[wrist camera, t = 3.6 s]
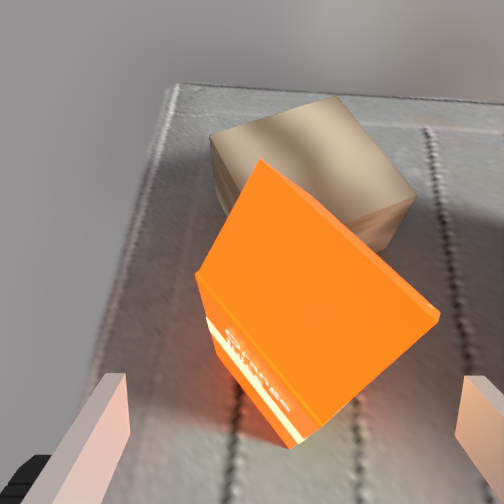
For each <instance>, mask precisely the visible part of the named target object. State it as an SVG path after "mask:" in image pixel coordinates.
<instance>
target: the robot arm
mask: <svg viewBox="0 0 504 504" xmlns="http://www.w3.org/2000/svg"><path fill="white" fill-rule="evenodd" d="M129 436H130V423H129V411H128V400H127V388H126V376H125V373H105V375H104V376H103V378H102V379H101V381H100V382H99V384H98V385H97V387H96V388H95V390H94V392H93V393H92V395H91V396H90V398H89V399H88V401H87V402H86V404H85V405H84V407H83V408H82V410H81V412H80V413H79V415H78V416H77V418H76V419H75V421H74V422H73V424H72V425H71V427H70V428H69V430H68V432H67V433H66V435H65V436H64V438H63V439H62V441H61V442H60V444H59V445H58V447H57V449H56V450H55V452H54V453H53V455H34V456H33V457H32V458H31V459H29V460H28V461H27V462H26V463H24V464H23V465H22V466H21V467H19V469H18V470H17V471H16V473H15V474H14V476H13V477H12V478H11V480H10V481H9V482H8V485H7V486H6V487H5V488H4V489H3V491H2V492H1V493H0V504H101V502H102V499H103V497H104V495H105V492H106V490H107V488H108V485H109V483H110V480H111V478H112V476H113V473H114V471H115V469H116V466H117V464H118V462H119V459H120V457H121V455H122V452H123V450H124V448H125V445H126V443H127V441H128V438H129ZM455 437H456V439H457V440H458V441H459V443H460V444H461V446H462V447H463V449H464V450H465V451H466V453H467V454H468V456H469V457H470V459H471V460H472V461H473V463H474V464H475V466H476V467H477V469H478V470H479V471H480V473H481V474H482V476H483V477H484V479H485V480H486V481H487V483H488V484H489V486H490V487H491V488H492V490H493V491H494V493H495V494H496V496H497V497H498V498H499V500H500V501H501V503H502V504H504V395H503V394H502V393H501V392H500V391H499V390H498V389H497V388H496V387H495V386H494V385H493V384H492V383H491V382H490V381H489V380H488V379H487V378H486V377H485V376H464V383H463V389H462V395H461V401H460V407H459V413H458V419H457V425H456V431H455Z"/></svg>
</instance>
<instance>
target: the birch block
mask: <svg viewBox="0 0 504 504" xmlns="http://www.w3.org/2000/svg"><path fill="white" fill-rule="evenodd" d="M209 139H210V147H211V155H212V164H213V172H214V180H215V188H216V196H217V198H218V200H219V202H220V204H221V206H222V208H223V210H224V212H225V214H226V216H227V218H228V216H229V215H230V213H231V211H232V209H233V207H234V205H235V204H236V202H237V200H238V198H239V196H240V194H241V192H242V191H243V189H244V187H245V185H246V183H247V181H248V180H249V178H250V176H251V174H252V172H253V170H254V169H255V167H256V165H257V163H258V161H259V158H260V159H262V160H263V161H264V162H265V163H267V164H268V165H270V166H271V167H272V168H274V169H275V170H276V171H278V172H279V173H281V174H282V175H283V176H285V177H286V178H287V179H289V180H290V181H292V182H293V183H294V184H296V185H297V186H299V187H300V188H301V189H303V190H304V191H305V192H307V193H308V194H310V195H311V196H312V197H313V198H314V199H316V200H317V201H318V202H319V203H320V204H321V205H322V206H323V207H324V208H325V209H327V210H328V211H329V212H330V213H331V214H332V215H333V216H334V217H335V218H336V219H338V220H339V221H340V222H341V223H342V224H343V225H344V226H345V227H346V228H348V229H349V230H350V231H351V232H352V233H353V234H354V235H355V236H356V237H357V238H359V239H360V240H361V241H362V242H363V243H364V244H365V245H366V246H367V247H368V248H370V249H371V250H372V251H373V252H374V253H377V252H379V251H381V250H384V249H386V247H387V246H388V244H389V242H390V241H391V239H392V237H393V236H394V234H395V232H396V231H397V229H398V227H399V226H400V224H401V222H402V221H403V219H404V217H405V216H406V214H407V212H408V210H409V209H410V207H411V205H412V204H413V202H414V200H415V199H416V197H417V195H418V194H417V193H416V192H415V191H414V190H413V188H412V187H411V186H410V185H409V183H408V182H407V181H406V180H405V178H404V177H403V176H402V175H401V174H400V172H399V171H398V170H397V169H396V167H395V166H394V165H393V164H392V163H391V161H390V160H389V159H388V158H387V156H386V155H385V154H384V153H383V151H382V150H381V149H380V148H379V147H378V145H377V144H376V143H375V142H374V140H373V139H372V138H371V137H370V136H369V134H368V133H367V132H366V131H365V129H364V128H363V127H362V126H361V124H360V123H359V122H358V121H357V120H356V118H355V117H354V116H353V115H352V113H351V112H350V111H349V110H348V109H347V107H346V106H345V105H344V104H343V102H342V101H341V100H340V99H339V98H338V96H337V95H336V96H333V97H329V98H326V99H323V100H320V101H317V102H313V103H310V104H307V105H304V106H301V107H297V108H294V109H291V110H288V111H284V112H281V113H278V114H275V115H272V116H268V117H265V118H262V119H259V120H256V121H252V122H249V123H246V124H243V125H240V126H236V127H233V128H230V129H227V130H223V131H220V132H217V133H214V134H211V135H209ZM258 157H259V158H258Z"/></svg>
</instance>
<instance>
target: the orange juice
mask: <svg viewBox="0 0 504 504" xmlns="http://www.w3.org/2000/svg"><path fill="white" fill-rule="evenodd" d="M258 158H259V157H258ZM195 276H196V277H195V279H196V280H197V283H198V287H199V290H200V294H201V298H202V301H203V305H204V309H205V312H206V316H207V317H206V319H207V323H208V327H209V330H210V332H211V335H212V338H213V342H214V346H215V349H216V353H217V355H218V357H219V358H220V359H221V361H222V362H223V363H224V365H225V366H226V367H227V369H228V370H229V371H230V372H231V374H232V375H233V376H234V378H235V379H236V380H237V382H238V383H239V384H240V385H241V387H242V388H243V389H244V391H245V392H246V393H247V395H248V396H249V397H250V398H251V400H252V401H253V402H254V404H255V405H256V406H257V408H258V409H259V410H260V411H261V413H262V414H263V415H264V417H265V418H266V419H267V421H268V422H269V423H270V424H271V426H272V427H273V428H274V430H275V431H276V432H277V434H278V435H279V436H280V438H281V439H282V440H283V441H284V443H285V444H286V445H287V447H288V448H289V449H290V448H292V447H293V446H295V445H296V444H299V443H301V442H302V441H304V440H305V439H306V438H307V437H308V436H309V435H311V434H312V433H314V432H315V431H317V430H318V429H320V428H321V427H322V426H323V425H324V424H325V423H326V422H327V421H328V420H330V419H331V418H332V417H333V416H334V415H335V414H336V413H337V412H338V411H339V410H340V409H342V408H343V407H344V405H345V404H346V403H348V402H349V401H350V400H351V399H352V398H353V397H354V396H355V395H357V394H358V393H359V392H360V391H361V390H362V389H363V388H364V387H366V386H367V385H368V384H369V383H370V382H371V381H372V380H373V379H375V378H376V377H377V376H378V375H379V374H380V373H381V372H382V371H384V370H385V369H386V368H387V367H388V366H389V365H390V364H391V363H393V362H394V361H395V360H396V359H397V358H398V357H399V356H400V355H402V354H403V353H404V352H405V351H406V350H407V349H408V348H409V347H411V346H412V345H413V344H414V343H415V342H416V341H417V340H418V339H420V338H421V337H422V336H423V335H424V334H425V333H426V332H427V331H428V330H430V329H431V328H432V327H433V326H434V325H435V324H436V323H437V322H438V320H439V316H440V312H439V311H438V310H437V309H436V308H435V307H434V306H432V305H431V304H430V303H429V302H428V301H427V300H426V299H425V298H424V297H423V296H421V295H420V294H419V293H418V292H417V291H416V290H415V289H414V288H413V287H412V286H410V285H409V284H408V283H407V282H406V281H405V280H404V279H403V278H402V277H400V276H399V275H398V274H397V273H396V272H395V271H394V270H393V269H392V268H391V267H389V266H388V265H387V264H386V263H385V262H384V261H383V260H382V259H381V258H380V257H378V256H377V255H376V254H375V253H374V252H373V251H372V250H371V249H370V248H368V247H367V246H366V245H365V244H364V243H363V242H362V241H361V240H360V239H359V238H357V237H356V236H355V235H354V234H353V233H352V232H351V231H350V230H349V229H348V228H346V227H345V226H344V225H343V224H342V223H341V222H340V221H339V220H338V219H336V218H335V217H334V216H333V215H332V214H331V213H330V212H329V211H328V210H327V209H325V208H324V207H323V206H322V205H321V204H320V203H319V202H318V201H317V200H316V199H314V198H313V197H312V196H311V195H310V194H308V193H307V192H305V191H304V190H303V189H301V188H300V187H299V186H297V185H296V184H294V183H293V182H292V181H290V180H289V179H287V178H286V177H285V176H283V175H282V174H281V173H279V172H278V171H276V170H275V169H274V168H272V167H271V166H270V165H268V164H267V163H265V162H264V161H263V160H262V159H260V158H259V161H258V163H257V165H256V167H255V169H254V170H253V172H252V174H251V176H250V178H249V180H248V181H247V183H246V185H245V187H244V189H243V191H242V192H241V194H240V196H239V198H238V200H237V202H236V204H235V205H234V207H233V209H232V211H231V213H230V215H229V216H228V218H227V220H226V222H225V224H224V226H223V228H222V229H221V231H220V233H219V235H218V237H217V239H216V240H215V242H214V244H213V246H212V248H211V250H210V252H209V253H208V255H207V257H206V259H205V261H204V263H203V264H202V266H201V268H200V270H199V271H198V272H196V273H195Z"/></svg>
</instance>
